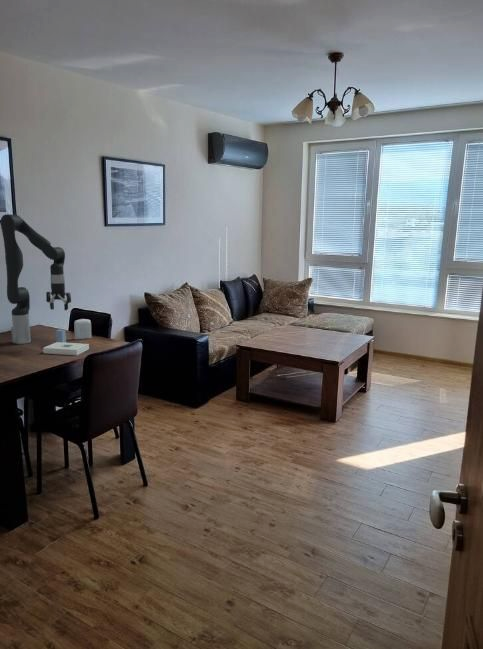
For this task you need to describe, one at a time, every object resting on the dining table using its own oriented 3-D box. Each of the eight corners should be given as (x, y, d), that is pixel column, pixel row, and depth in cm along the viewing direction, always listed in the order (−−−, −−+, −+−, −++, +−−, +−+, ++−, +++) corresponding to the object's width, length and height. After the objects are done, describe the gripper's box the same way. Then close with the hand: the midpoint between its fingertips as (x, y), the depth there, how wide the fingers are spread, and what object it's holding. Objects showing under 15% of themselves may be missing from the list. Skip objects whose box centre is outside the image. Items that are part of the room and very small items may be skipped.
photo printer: (90, 336, 306) (89, 317, 303) (92, 338, 302) (91, 319, 300) (73, 338, 300) (72, 319, 297) (75, 340, 296) (74, 320, 294)
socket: (43, 353, 265) (43, 347, 264) (56, 347, 278) (56, 342, 278) (76, 355, 262) (76, 349, 261) (89, 349, 275) (88, 344, 275)
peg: (56, 345, 282) (55, 330, 280) (60, 344, 285) (59, 329, 284) (62, 346, 281) (61, 331, 279) (66, 344, 285) (65, 329, 283)
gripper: (42, 282, 273) (44, 310, 276) (65, 283, 271) (67, 311, 274) (49, 281, 281) (51, 308, 284) (72, 281, 278) (73, 309, 282)
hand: (59, 309), depth 279 cm, fingers open, 8 cm apart
